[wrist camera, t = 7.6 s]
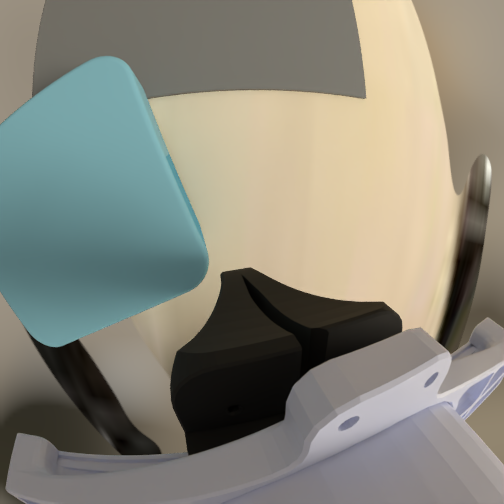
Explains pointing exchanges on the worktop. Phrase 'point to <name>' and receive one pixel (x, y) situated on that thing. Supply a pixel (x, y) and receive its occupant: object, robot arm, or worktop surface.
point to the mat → (207, 44)
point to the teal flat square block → (91, 207)
